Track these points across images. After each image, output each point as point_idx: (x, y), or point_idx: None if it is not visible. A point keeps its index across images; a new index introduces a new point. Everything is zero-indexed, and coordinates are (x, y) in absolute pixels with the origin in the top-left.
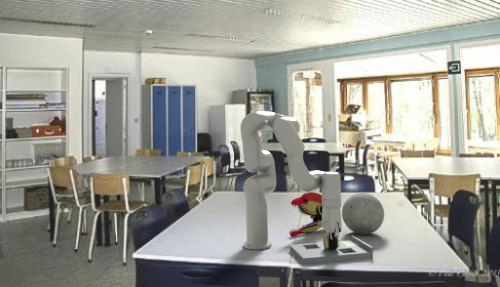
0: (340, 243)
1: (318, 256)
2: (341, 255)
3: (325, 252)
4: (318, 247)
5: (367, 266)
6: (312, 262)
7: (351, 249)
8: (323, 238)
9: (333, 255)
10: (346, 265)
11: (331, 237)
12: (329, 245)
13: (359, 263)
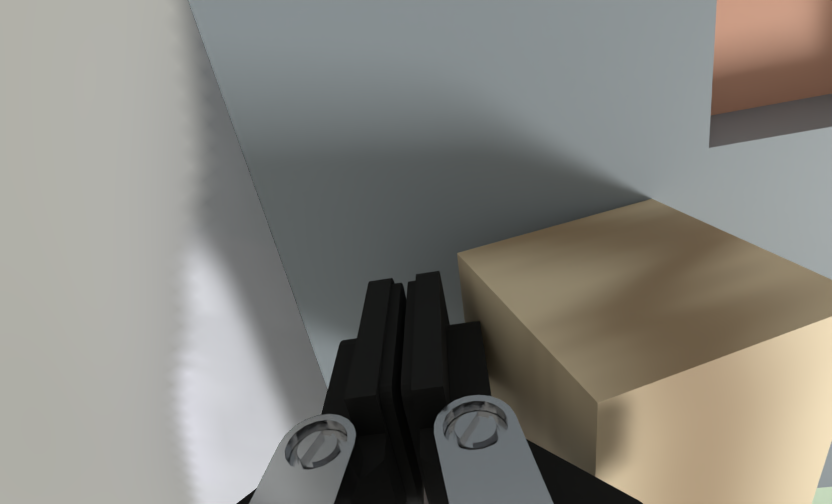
0: (827, 455)
1: (218, 17)
2: (319, 363)
3: (445, 184)
4: (815, 121)
5: (194, 485)
6: None
7: None
8: (780, 287)
9: (292, 270)
10: (196, 334)
11: (267, 479)
12: (387, 307)
13: (272, 450)
